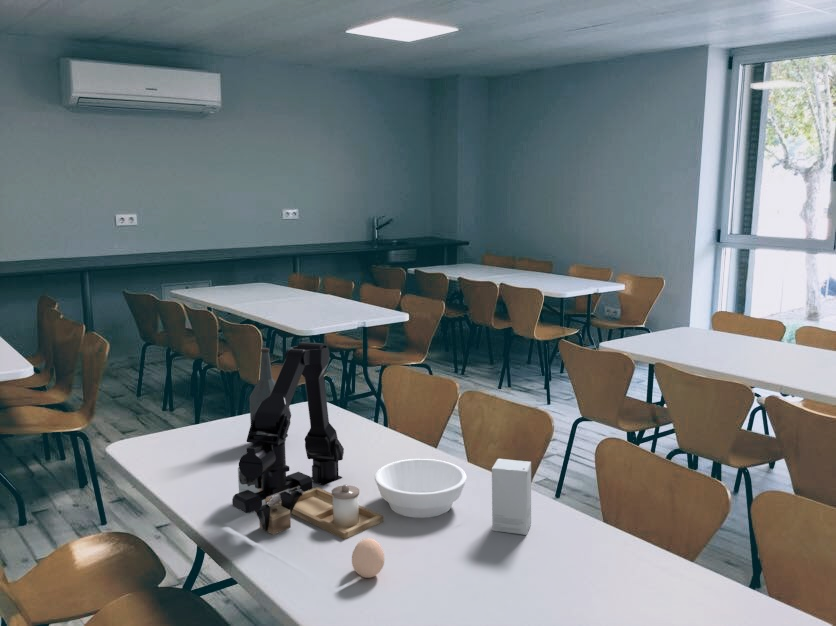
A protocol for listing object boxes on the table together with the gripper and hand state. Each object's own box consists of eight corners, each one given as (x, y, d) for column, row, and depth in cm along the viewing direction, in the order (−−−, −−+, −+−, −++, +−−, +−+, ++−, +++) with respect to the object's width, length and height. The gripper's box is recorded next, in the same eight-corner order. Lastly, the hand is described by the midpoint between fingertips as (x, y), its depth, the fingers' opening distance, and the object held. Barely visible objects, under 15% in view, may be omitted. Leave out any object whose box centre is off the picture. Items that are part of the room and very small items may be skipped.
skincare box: (531, 524, 172) (533, 461, 170) (526, 537, 166) (528, 471, 164) (496, 519, 175) (497, 456, 172) (490, 531, 169) (491, 467, 166)
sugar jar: (347, 512, 177) (346, 477, 175) (365, 521, 172) (364, 484, 171) (326, 521, 172) (325, 485, 170) (344, 530, 168) (344, 492, 166)
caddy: (317, 495, 188) (317, 487, 188) (383, 524, 172) (383, 515, 172) (279, 510, 180) (278, 501, 179) (344, 542, 164) (344, 533, 163)
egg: (358, 587, 146) (357, 550, 144) (347, 571, 152) (347, 535, 150) (389, 580, 148) (389, 543, 147) (377, 564, 154) (377, 529, 153)
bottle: (259, 437, 231) (255, 344, 226) (289, 438, 230) (286, 345, 224) (247, 449, 221) (243, 351, 216) (278, 450, 220) (275, 352, 214)
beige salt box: (277, 523, 173) (276, 502, 172) (290, 530, 170) (290, 509, 169) (259, 530, 169) (259, 509, 168) (273, 538, 166) (272, 516, 165)
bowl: (479, 497, 187) (479, 466, 186) (444, 535, 167) (445, 501, 166) (399, 482, 197) (399, 453, 195) (358, 517, 176) (357, 484, 175)
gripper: (284, 442, 179) (286, 503, 181) (217, 464, 165) (220, 529, 168) (313, 454, 171) (315, 517, 174) (245, 477, 158) (248, 545, 160)
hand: (275, 526), depth 169 cm, fingers closed on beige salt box, 5 cm apart
